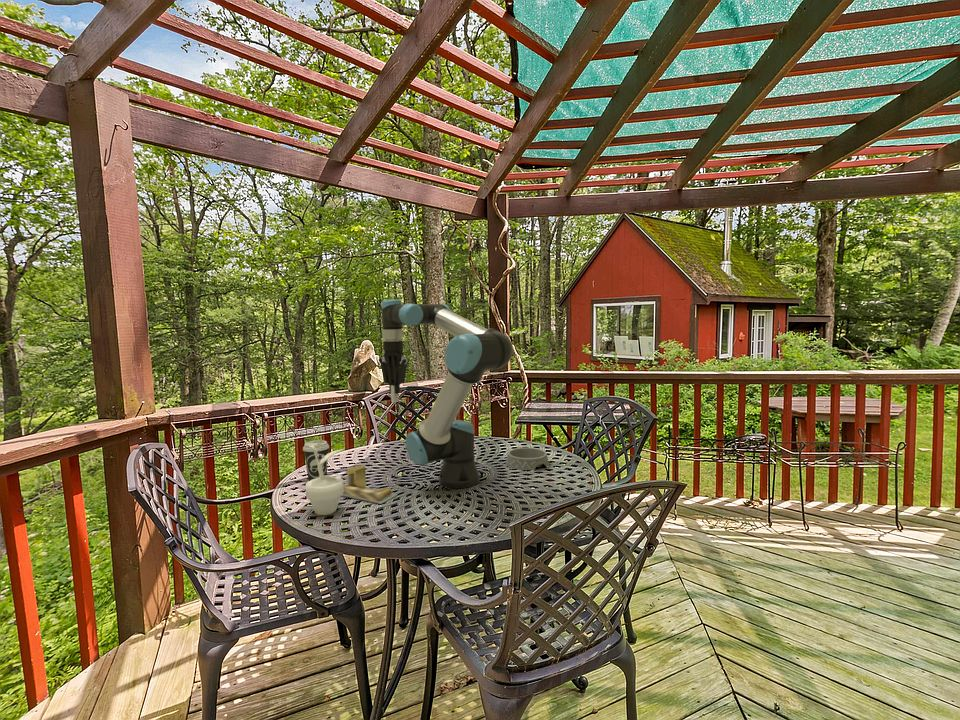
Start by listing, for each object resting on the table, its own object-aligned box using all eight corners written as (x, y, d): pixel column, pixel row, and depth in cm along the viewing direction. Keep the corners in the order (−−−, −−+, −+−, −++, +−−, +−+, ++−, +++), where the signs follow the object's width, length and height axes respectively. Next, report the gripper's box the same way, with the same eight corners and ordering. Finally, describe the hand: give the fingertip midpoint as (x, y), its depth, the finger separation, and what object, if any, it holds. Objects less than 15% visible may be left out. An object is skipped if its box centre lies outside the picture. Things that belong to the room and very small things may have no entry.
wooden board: (395, 496, 167) (395, 493, 167) (380, 504, 160) (380, 501, 160) (358, 488, 175) (358, 485, 175) (342, 495, 168) (342, 492, 168)
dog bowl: (557, 466, 198) (557, 453, 197) (522, 474, 188) (522, 461, 187) (531, 456, 212) (531, 444, 212) (497, 464, 202) (497, 451, 201)
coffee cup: (336, 479, 186) (334, 441, 184) (318, 487, 177) (316, 447, 176) (317, 476, 190) (315, 438, 188) (298, 483, 181) (296, 444, 180)
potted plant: (308, 522, 147) (304, 441, 145) (305, 508, 158) (301, 433, 155) (350, 514, 152) (347, 436, 150) (345, 501, 163) (342, 429, 160)
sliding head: (366, 487, 173) (365, 466, 172) (354, 492, 167) (353, 471, 167) (357, 485, 174) (356, 465, 174) (346, 490, 169) (345, 470, 169)
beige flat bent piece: (393, 493, 167) (393, 486, 167) (378, 501, 160) (378, 494, 160) (356, 486, 175) (356, 479, 175) (340, 493, 168) (340, 486, 168)
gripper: (412, 340, 183) (414, 401, 185) (385, 339, 189) (387, 399, 192) (400, 341, 177) (402, 404, 179) (373, 340, 183) (375, 402, 185)
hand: (395, 401), depth 185 cm, fingers closed
